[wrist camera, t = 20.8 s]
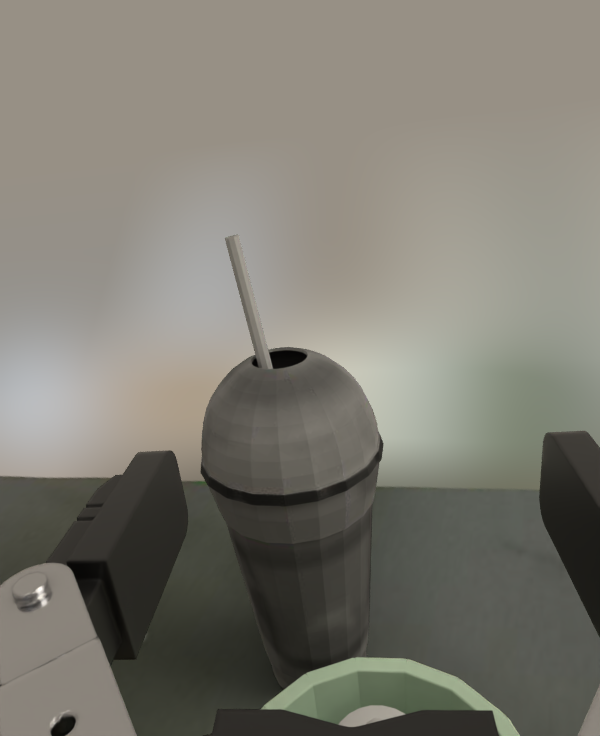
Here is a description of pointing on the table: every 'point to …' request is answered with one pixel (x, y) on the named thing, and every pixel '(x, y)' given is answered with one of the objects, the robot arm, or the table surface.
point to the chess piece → (369, 715)
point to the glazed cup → (381, 691)
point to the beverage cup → (295, 494)
